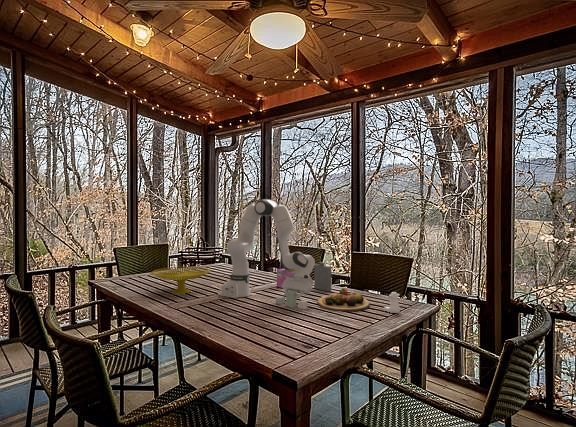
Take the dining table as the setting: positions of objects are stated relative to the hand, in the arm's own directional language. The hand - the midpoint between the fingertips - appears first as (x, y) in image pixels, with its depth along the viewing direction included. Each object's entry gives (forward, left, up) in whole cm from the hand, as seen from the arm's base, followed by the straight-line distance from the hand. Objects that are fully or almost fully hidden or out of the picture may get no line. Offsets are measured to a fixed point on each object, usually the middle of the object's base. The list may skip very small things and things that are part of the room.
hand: (291, 296), depth 216 cm
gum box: (-18, +53, -6) cm, 56 cm away
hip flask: (+8, +48, -6) cm, 49 cm away
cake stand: (-83, +5, -6) cm, 83 cm away
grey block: (-8, +3, -6) cm, 10 cm away
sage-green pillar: (0, 0, -5) cm, 5 cm away
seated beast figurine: (+60, +7, -6) cm, 61 cm away
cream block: (+8, -3, -6) cm, 10 cm away
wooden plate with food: (+29, +14, -6) cm, 33 cm away
